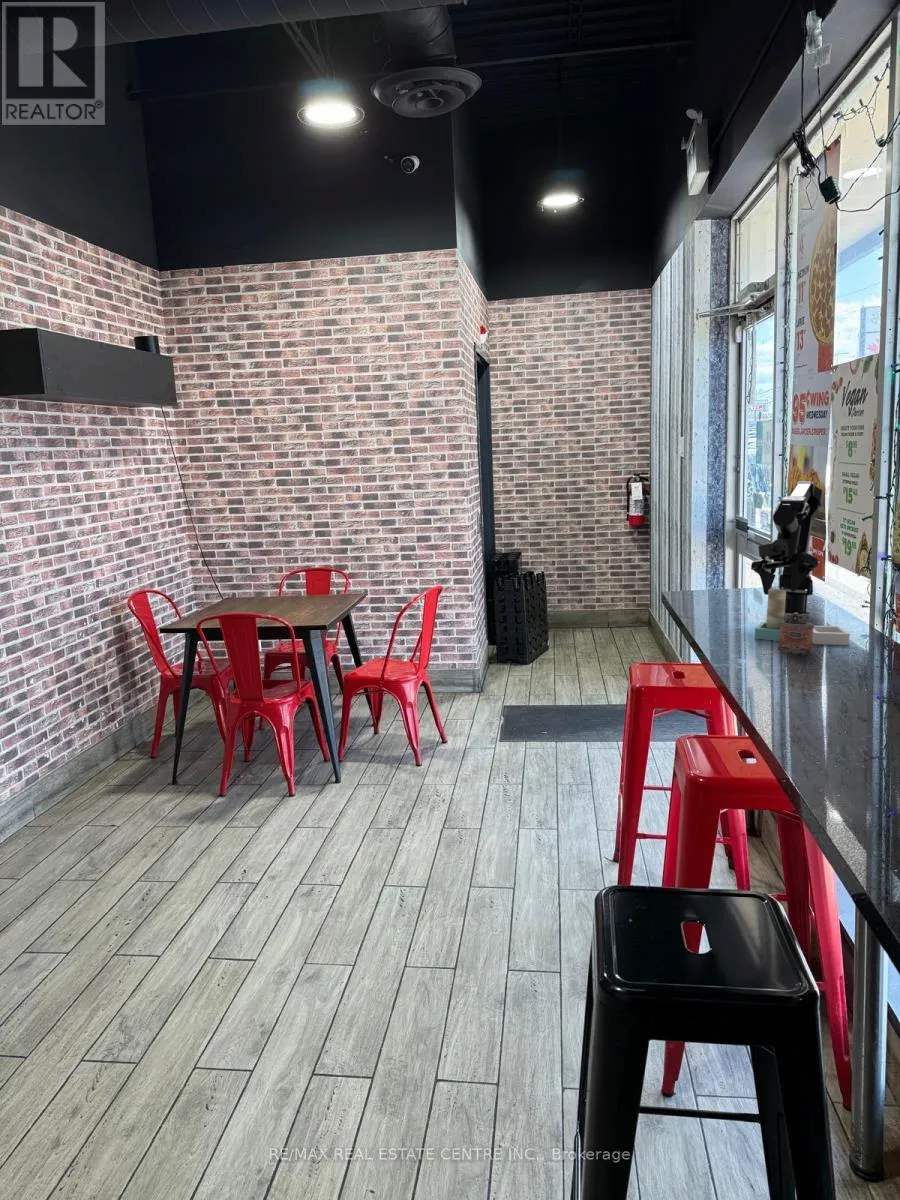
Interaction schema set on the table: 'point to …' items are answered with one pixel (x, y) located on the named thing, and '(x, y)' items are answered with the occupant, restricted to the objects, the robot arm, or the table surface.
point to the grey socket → (830, 635)
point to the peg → (775, 608)
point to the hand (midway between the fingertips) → (778, 592)
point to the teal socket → (766, 632)
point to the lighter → (796, 634)
